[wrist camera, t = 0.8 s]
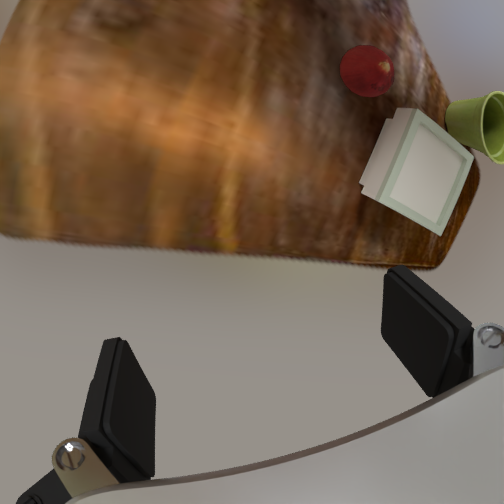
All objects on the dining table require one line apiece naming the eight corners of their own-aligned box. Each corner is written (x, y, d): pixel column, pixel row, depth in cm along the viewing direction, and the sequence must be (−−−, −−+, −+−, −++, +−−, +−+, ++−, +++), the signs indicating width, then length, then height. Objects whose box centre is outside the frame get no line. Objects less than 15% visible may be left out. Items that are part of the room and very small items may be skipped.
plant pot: (427, 134, 36) (473, 142, 28) (445, 77, 33) (491, 76, 25) (466, 163, 39) (508, 176, 31) (482, 110, 36) (524, 116, 28)
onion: (380, 75, 32) (421, 70, 25) (355, 108, 33) (394, 108, 26) (346, 42, 30) (382, 28, 23) (318, 74, 31) (352, 65, 24)
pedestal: (383, 107, 34) (417, 108, 28) (439, 148, 37) (474, 156, 31) (349, 187, 37) (378, 201, 31) (409, 219, 40) (440, 236, 34)
